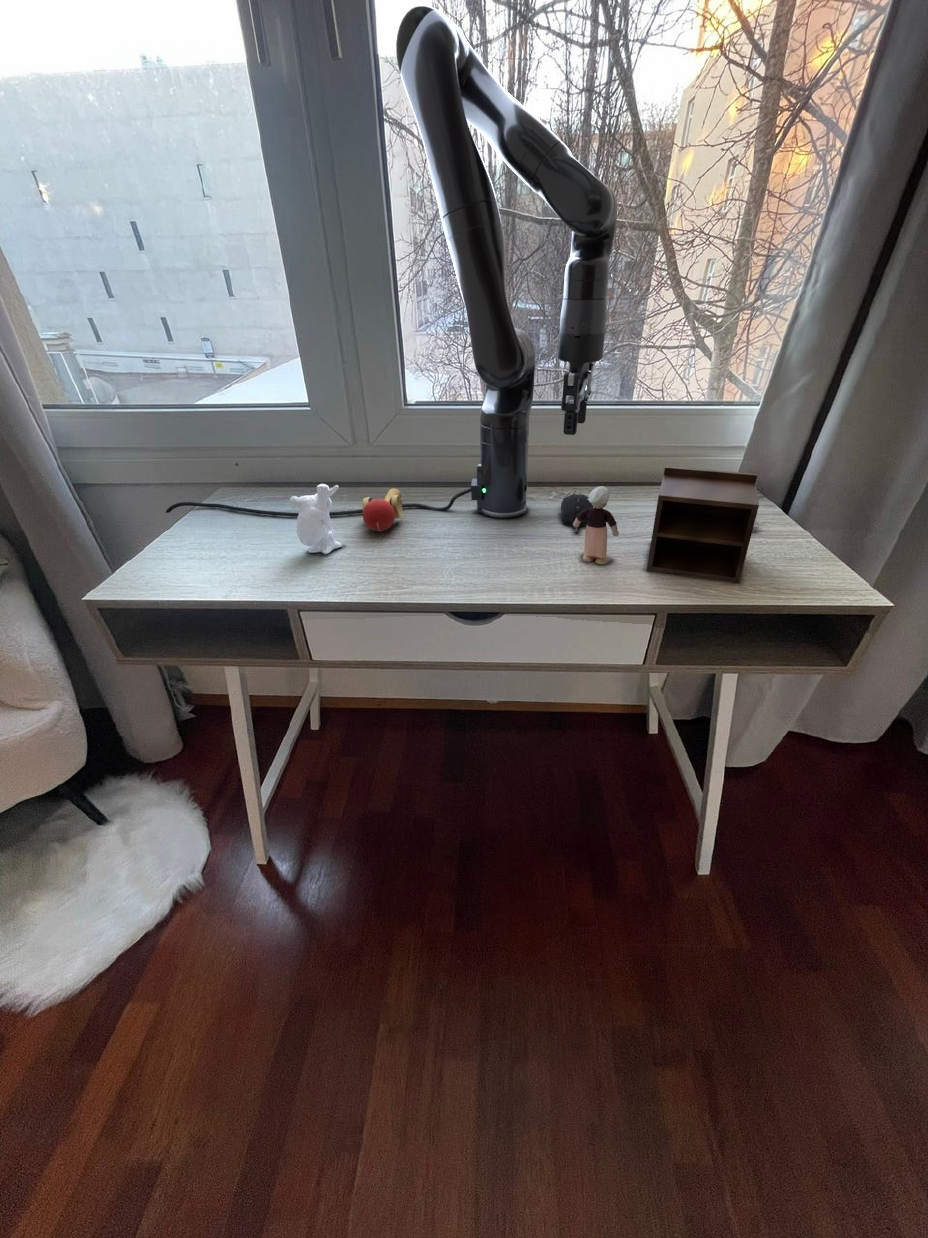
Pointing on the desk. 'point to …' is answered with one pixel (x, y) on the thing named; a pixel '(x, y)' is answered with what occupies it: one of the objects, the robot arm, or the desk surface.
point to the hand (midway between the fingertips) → (574, 428)
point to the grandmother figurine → (597, 526)
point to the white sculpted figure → (316, 520)
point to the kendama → (382, 510)
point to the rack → (703, 523)
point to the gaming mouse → (574, 509)
